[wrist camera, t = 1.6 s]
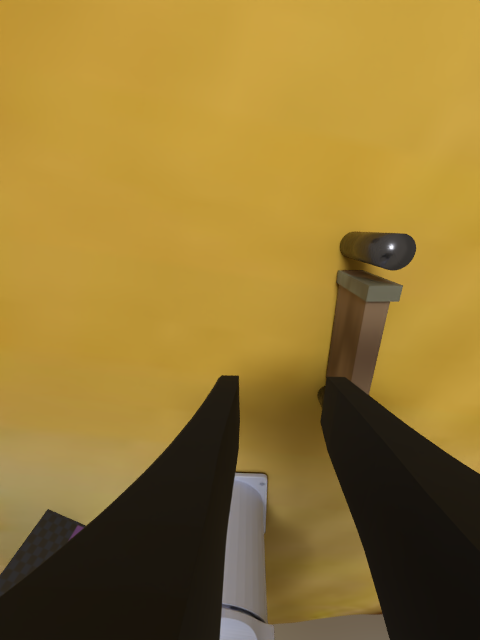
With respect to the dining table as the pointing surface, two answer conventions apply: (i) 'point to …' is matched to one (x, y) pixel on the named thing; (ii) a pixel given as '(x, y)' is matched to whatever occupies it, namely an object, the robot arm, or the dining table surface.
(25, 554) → the cereal box
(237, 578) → the robot arm
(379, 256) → the gate posts
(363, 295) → the brown wooden block
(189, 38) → the dining table surface
